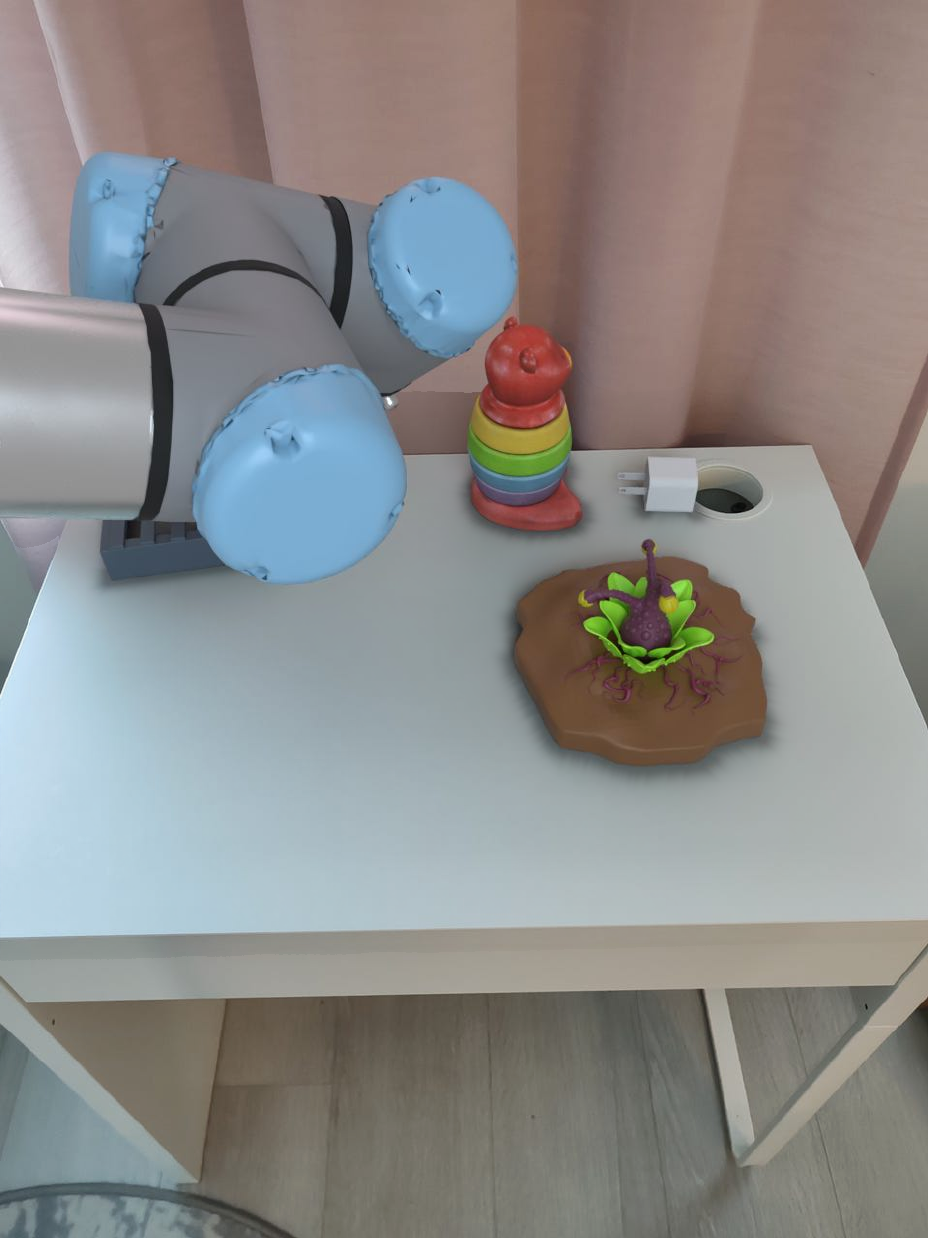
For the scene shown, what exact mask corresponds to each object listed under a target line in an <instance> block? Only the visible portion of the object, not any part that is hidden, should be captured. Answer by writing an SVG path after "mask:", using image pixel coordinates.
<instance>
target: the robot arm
mask: <svg viewBox="0 0 928 1238" xmlns="http://www.w3.org/2000/svg"><path fill="white" fill-rule="evenodd" d="M181 162H182V161H181V160H180V159H179V158H176V157H172V156H170V157H167V158H158V157H153V156H146V155H145V156H144V155H137V154H131V153H123V152H118V151H111V150H110V151H108V150H107V151H101V152H96V153H94V154H92V155H91V156H90V157H88V158H87V160H86V161H85V162H84V164H82V166H81V169H80V171H79V174H78V176H77V180H76V183H75V188H74V193H73V197H72V206H71V215H70V224H69V225H70V227H69V240H68V243H69V244H68V273H69V274H68V275H69V277H68V279H69V288H70V289H69V290H70V294H61V293H52V292H44V291H35V290H29V289H28V290H27V289H19V288H13V287H12V288H10V287H4V286H3V287H2V286H0V519H30V520H31V519H36V520H37V519H38V520H94V521H95V520H99V521H100V520H101V521H103V520H129V521H141V520H143V521H156V522H163V523H164V522H165V523H171V522H186V523H196V528H197V529H196V530H198V531H199V532H200V534H201V535H202V536H203V537H204V538H205V539H206V540H207V541H208V543H209V545H210V547H211V548H212V550H213V551H214V553H215V554H216V555H217V556H218V557H219V559H220V560H221V561H223V562H224V563H225V564H226V565H225V566H227V567H229V569H233V570H234V571H236V572H240V573H241V574H244V575H247V576H249V577H251V578H252V577H253V578H256V579H257V580H258V581H259V582H261V583H266V584H269V585H281V586H282V585H283V586H289V585H303V584H310V583H313V582H317V581H321V580H323V579H327V578H330V577H333V576H337V575H338V574H340V573H342V572H344V571H347V570H348V569H350V568H352V567H354V566H355V565H357V564H358V563H360V562H362V560H364V559H365V558H367V557H368V556H369V555H371V554H372V552H374V550H376V549H377V548H378V547H379V546H380V545H381V544H382V543H383V542H384V540H385V539H386V538H387V536H388V535H389V534H390V532H391V531H392V530H393V527H394V526H395V524H396V522H397V521H398V518H399V516H400V512H402V510H403V507H404V506H405V501H404V500H405V498H406V494H407V489H408V476H407V475H408V473H407V471H408V470H407V465H406V459H405V456H404V453H403V450H402V448H401V446H400V444H399V443H400V442H399V441H398V439H397V437H396V434H395V431H394V429H393V427H392V425H391V422H390V420H389V417H388V414H387V412H388V411H389V412H390V411H393V410H395V409H396V408H397V407H398V406H399V399H398V397H397V395H396V394H397V393H399V392H400V391H402V390H404V389H406V388H407V387H409V386H410V385H411V384H412V383H413V382H415V381H416V380H418V379H419V378H421V377H422V376H424V375H426V374H428V373H429V372H432V370H434V369H436V368H438V367H439V366H441V365H443V364H444V363H446V362H448V361H449V360H451V359H452V358H458V357H459V356H460V355H462V354H466V353H468V351H470V350H471V349H472V347H474V345H475V344H476V342H477V341H478V340H479V339H480V338H481V337H483V336H484V335H485V334H486V333H487V332H489V331H490V330H491V329H492V328H493V327H495V326H496V325H497V324H498V323H499V322H500V321H501V320H502V319H503V317H504V316H505V314H506V313H507V312H508V310H509V309H510V307H511V306H512V303H513V301H514V298H515V294H516V291H517V286H518V274H519V273H518V272H519V265H518V260H517V252H516V247H515V243H514V241H513V237H512V235H511V233H510V231H509V229H508V228H509V227H508V225H507V224H506V222H505V220H504V219H503V217H502V216H501V215H500V213H499V212H498V210H497V208H495V206H494V205H493V204H492V203H491V202H490V201H489V200H488V199H487V198H486V197H485V196H483V195H482V194H481V193H479V192H478V191H477V190H475V189H474V188H473V187H471V186H469V185H467V184H466V183H464V182H462V181H460V180H457V179H453V178H449V177H444V176H436V175H435V176H434V175H433V176H431V177H423V178H420V179H419V178H418V179H415V180H413V181H411V182H409V183H406V184H404V185H403V186H402V187H400V188H399V189H398V190H395V191H394V192H393V193H391V194H387V195H385V196H384V197H383V198H382V200H381V202H379V203H378V204H379V205H375V204H371V203H366V202H362V201H357V200H353V199H348V198H344V197H339V196H335V195H331V196H330V195H329V196H327V195H322V194H318V193H312V192H308V191H303V190H299V189H295V188H292V187H291V188H290V187H287V186H282V185H278V184H273V183H269V182H264V181H261V180H256V179H252V178H248V177H247V178H246V177H243V176H238V175H234V174H230V173H226V172H221V171H217V170H212V169H209V168H204V167H200V166H196V165H192V164H187V163H183V162H182V163H181ZM386 411H387V412H386Z"/></svg>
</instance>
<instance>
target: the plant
mask: <svg viewBox="0 0 928 1238" xmlns="http://www.w3.org/2000/svg"><path fill="white" fill-rule="evenodd" d="M640 550H641V552H642V553H643V554H644V555H646V558H645V559H637V560H631V561H629V560H628V561H617V562H611V563H605V564H600V565H597V566H592V567H588V568H581V569H574V568H573V569H565V570H562V571H561V572H560V573H559V574H557V575H555V576H553V577H549V578H547V579H544V580H543V581H541V582H539V583H538V584H537V585H536V586H535V588H533V590H532V591H531V592H530V593H529V594H527V595H525V596H524V597H523V598H521V599H519V600H518V601H517V603H516V604H517V605H516V621H517V623H518V625H519V626H520V628H521V629H522V630H521V633H520V635H519V637H518V638H517V640H516V641H515V643H514V650H513V651H514V652H513V661H514V665H515V668H516V671H517V672H518V674H519V675H520V676H521V678H522V681H523V683H524V685H525V687H526V689H527V691H528V693H529V695H530V696H531V698H532V700H533V702H534V704H535V705H536V707H537V710H538V711H539V713H540V715H541V717H542V720H543V723H544V724H545V726H546V728H547V730H548V732H549V734H550V735H551V737H552V739H553V740H554V742H555V743H556V745H558V746H559V747H560V748H562V749H567V750H571V751H577V752H583V753H589V754H593V755H595V756H596V755H597V756H600V757H603V758H604V759H607V760H609V761H610V762H612V763H616V764H620V765H626V766H633V767H634V766H635V767H651V766H653V767H654V766H660V765H661V766H662V765H674V764H675V765H677V764H678V765H680V764H691V763H692V764H693V763H698V762H700V761H701V760H703V759H704V758H705V757H707V756H708V754H710V752H712V751H714V749H717V748H718V747H720V746H722V745H725V744H729V743H732V742H737V741H741V740H744V739H752V738H759V737H761V736H762V734H763V731H764V728H765V725H766V724H765V723H766V720H767V709H768V697H767V692H766V689H765V685H764V681H763V659H762V655H761V652H760V650H759V648H758V646H757V644H756V642H755V640H754V639H753V637H752V634H753V631H754V628H755V624H756V622H757V621H756V620H757V619H756V617H754V615H751V614H749V613H748V612H747V611H746V610H744V608H743V606H742V600H741V595H740V593H739V591H737V589H734V588H732V587H729V586H726V585H723V584H720V583H717V582H715V581H713V580H712V579H710V578H709V569H708V567H707V566H705V565H702V564H700V563H697V562H695V561H692V560H689V559H685V558H681V557H676V556H659V557H655V554H656V553H657V551H658V544H657V542H656V541H655V540H653V539H651V538H647V539H645V540H643V542H642V543H641V545H640Z"/></svg>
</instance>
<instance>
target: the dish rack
mask: <svg viewBox="0 0 928 1238" xmlns="http://www.w3.org/2000/svg"><path fill="white" fill-rule="evenodd" d="M129 521H130V520H102V522H101V523H102V524H101V535H100V543H99V554H100V556H101V558H102V559H101V560H102V561H103V563H104V566H105V568H106V571H107V574H108V575H109V578H110V581H117V580H118V581H119V580H124V579H132V578H141V577H149V576H156V575H162V574H168V573H177V572H178V573H179V572H185V571H191V570H192V571H193V570H199V569H200V570H201V569H206V568H207V569H208V568H215V567H222V566H227V565H226V564H225V563H224V562H223V561H221V560H220V559H219V557H218V556H217V555H216V554H215V553H214V551H213V550H212V548H211V547H210V545H209V543H208V541H207V540H206V539H205V538H204V537H203V536H202V535H201V534H200V532H199V531H198V529H194V530H187V529H186V527H187V522H170V533H163V534H156V529H157V521H143V520H140V534H139V535H140V537H132V538H128V537H129Z"/></svg>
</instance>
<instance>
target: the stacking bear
mask: <svg viewBox="0 0 928 1238" xmlns="http://www.w3.org/2000/svg"><path fill="white" fill-rule="evenodd" d="M572 368H573V360H572V357H571V355H570V353H569V352H568V350H567V349H565V347H563V346H562V345H560V344H559V343H558V342H557V341H556V340H554V339H553V338H552V336H551V334H549V332H547V331H546V330H545V329H544V328H542V327H539V326H537V325H533V324H519V321H518V320H517V317H516V316H510V317H508V318H507V319H506V320H505V321H504V324H503V331H501V332H500V333H498V334H497V335H496V336H495V337H494V338H493V339H492V340H491V342H490V343H489V346H488V348H487V350H486V353H485V356H484V371H485V375H486V381H487V384H486V385H485V386H484V388H482V391H481V392H480V393H479V395H478V396H477V398H476V401H475V403H474V407H473V410H472V414H471V418H470V421H469V426H468V432H467V455H468V459H469V463H470V467H471V469H472V474H473V479H472V481H471V486H470V499H471V502H472V505H473V506H474V508H475V509H476V511H477V512H478V513H479V514H480V515H481V516H483V517H484V518H485V519H487V520H489V521H490V522H493V523H495V524H497V525H500V526H504V527H508V528H512V529H518V530H525V531H532V532H533V531H534V532H549V531H558V530H559V531H561V530H565V529H570V528H573V527H575V526H576V525H577V523H578V522H580V520H581V519H582V518H583V509H582V503H581V500H580V499H579V498H578V497H577V495H576V494H574V493H573V492H572V491H571V490H570V489H569V488H568V486H567V485H566V482H565V481H564V478H565V476H566V474H567V472H568V465H569V461H570V457H571V452H572V445H573V436H572V435H573V434H572V433H573V432H572V426H571V422H570V416H569V409H568V406H567V403H566V398H565V394H564V391H563V390H562V389H561V388H562V387H563V386H564V384H565V383H566V382H567V379H568V377H569V376H570V373H571V371H572Z"/></svg>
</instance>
